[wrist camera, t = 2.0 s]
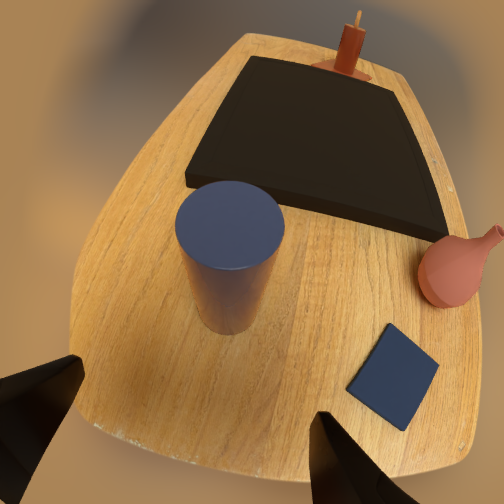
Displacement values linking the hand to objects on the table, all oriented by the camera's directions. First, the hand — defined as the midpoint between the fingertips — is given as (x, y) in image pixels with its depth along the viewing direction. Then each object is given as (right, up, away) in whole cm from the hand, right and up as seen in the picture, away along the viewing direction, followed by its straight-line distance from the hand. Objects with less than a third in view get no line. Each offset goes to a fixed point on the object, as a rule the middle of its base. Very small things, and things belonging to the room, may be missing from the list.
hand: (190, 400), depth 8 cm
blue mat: (+16, -7, +13) cm, 22 cm away
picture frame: (+14, +26, +32) cm, 44 cm away
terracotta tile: (+25, +50, +46) cm, 72 cm away
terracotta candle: (+25, +50, +46) cm, 72 cm away
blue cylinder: (0, 0, +16) cm, 16 cm away
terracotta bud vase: (+23, +1, +19) cm, 30 cm away
